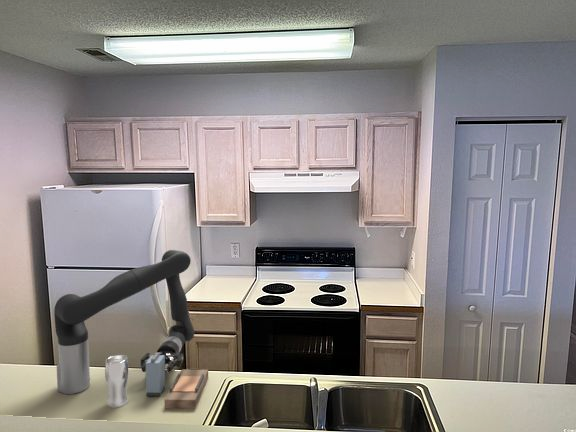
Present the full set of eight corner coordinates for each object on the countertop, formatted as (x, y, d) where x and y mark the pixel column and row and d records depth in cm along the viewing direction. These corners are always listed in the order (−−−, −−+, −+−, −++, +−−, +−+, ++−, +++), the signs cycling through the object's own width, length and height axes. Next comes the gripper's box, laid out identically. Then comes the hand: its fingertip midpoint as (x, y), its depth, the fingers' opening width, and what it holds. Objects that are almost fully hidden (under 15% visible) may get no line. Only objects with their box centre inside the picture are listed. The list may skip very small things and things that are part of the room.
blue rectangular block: (146, 397, 132) (145, 359, 130) (152, 387, 138) (152, 351, 137) (159, 397, 132) (158, 360, 130) (165, 387, 138) (164, 351, 137)
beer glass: (123, 409, 125) (122, 364, 123) (102, 408, 125) (100, 363, 123) (132, 396, 132) (131, 354, 130) (112, 396, 132) (110, 354, 130)
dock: (164, 408, 125) (164, 395, 125) (181, 377, 145) (181, 366, 145) (195, 408, 125) (195, 396, 125) (208, 377, 145) (208, 366, 145)
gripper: (151, 340, 150) (134, 359, 134) (188, 340, 150) (176, 359, 134) (151, 358, 151) (135, 380, 134) (188, 358, 151) (176, 380, 134)
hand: (155, 369), depth 134 cm, fingers open, 8 cm apart
